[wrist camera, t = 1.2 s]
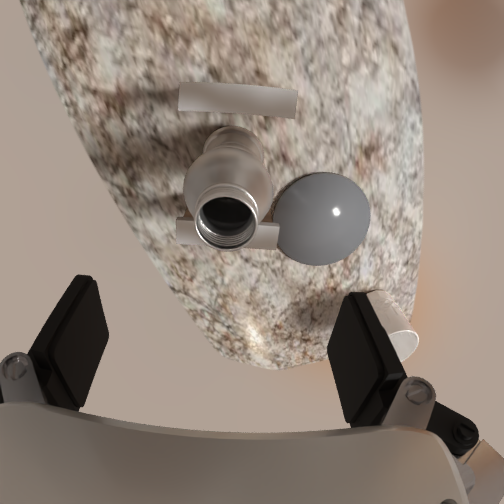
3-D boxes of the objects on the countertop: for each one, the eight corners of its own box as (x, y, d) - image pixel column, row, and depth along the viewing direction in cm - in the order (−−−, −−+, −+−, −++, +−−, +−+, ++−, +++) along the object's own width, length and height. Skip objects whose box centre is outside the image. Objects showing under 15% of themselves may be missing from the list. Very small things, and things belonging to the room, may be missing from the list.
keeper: (194, 82, 30) (179, 82, 23) (284, 89, 31) (298, 90, 24) (189, 209, 38) (176, 243, 31) (269, 214, 39) (276, 250, 31)
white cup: (344, 301, 47) (362, 348, 38) (388, 278, 45) (414, 321, 36) (359, 330, 50) (376, 374, 42) (399, 309, 48) (422, 351, 40)
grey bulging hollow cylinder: (240, 187, 37) (241, 289, 20) (193, 156, 35) (148, 235, 18) (274, 145, 35) (308, 214, 17) (225, 111, 32) (207, 143, 15)
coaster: (279, 166, 36) (279, 168, 35) (378, 179, 37) (380, 181, 36) (266, 260, 42) (267, 262, 42) (355, 265, 43) (356, 268, 43)
